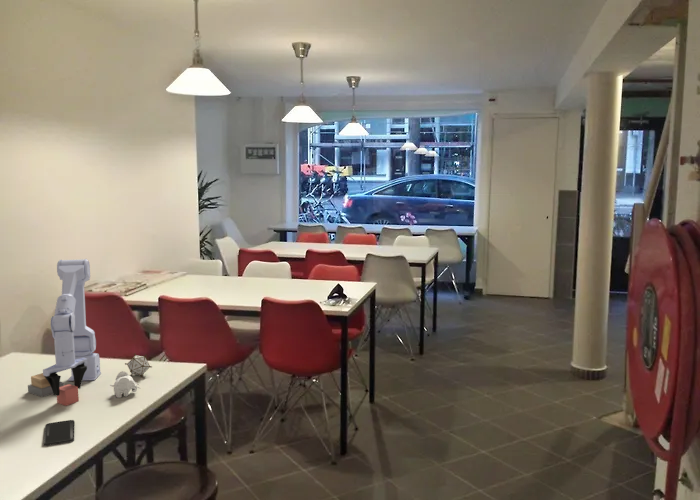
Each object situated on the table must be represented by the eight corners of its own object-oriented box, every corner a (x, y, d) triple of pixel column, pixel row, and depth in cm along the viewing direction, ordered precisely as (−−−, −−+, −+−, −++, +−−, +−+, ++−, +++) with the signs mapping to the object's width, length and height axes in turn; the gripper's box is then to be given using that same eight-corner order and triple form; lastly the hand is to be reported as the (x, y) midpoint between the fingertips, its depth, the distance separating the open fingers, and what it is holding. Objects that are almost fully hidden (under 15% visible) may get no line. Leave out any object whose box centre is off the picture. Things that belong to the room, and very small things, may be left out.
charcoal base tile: (50, 386, 219) (49, 378, 219) (64, 391, 215) (63, 382, 215) (28, 393, 212) (27, 385, 212) (42, 398, 208) (41, 389, 208)
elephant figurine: (141, 396, 209) (140, 375, 208) (110, 400, 205) (109, 379, 204) (139, 388, 216) (138, 368, 215) (109, 392, 212) (108, 372, 211)
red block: (70, 398, 207) (69, 384, 206) (78, 401, 205) (77, 386, 204) (57, 403, 203) (56, 388, 202) (66, 405, 201) (65, 390, 200)
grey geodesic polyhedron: (144, 384, 231) (160, 362, 231) (130, 383, 223) (147, 361, 223) (130, 369, 234) (146, 348, 234) (115, 368, 226) (132, 346, 226)
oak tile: (48, 379, 217) (47, 371, 217) (58, 383, 214) (57, 374, 214) (31, 385, 212) (30, 376, 212) (41, 388, 209) (41, 379, 209)
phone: (74, 419, 188) (74, 439, 174) (74, 423, 188) (74, 443, 174) (45, 423, 185) (42, 444, 171) (45, 427, 185) (42, 447, 171)
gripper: (51, 358, 193) (54, 400, 195) (92, 347, 205) (94, 386, 207) (37, 354, 197) (40, 396, 199) (78, 343, 209) (81, 383, 211)
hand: (67, 391), depth 203 cm, fingers open, 7 cm apart
